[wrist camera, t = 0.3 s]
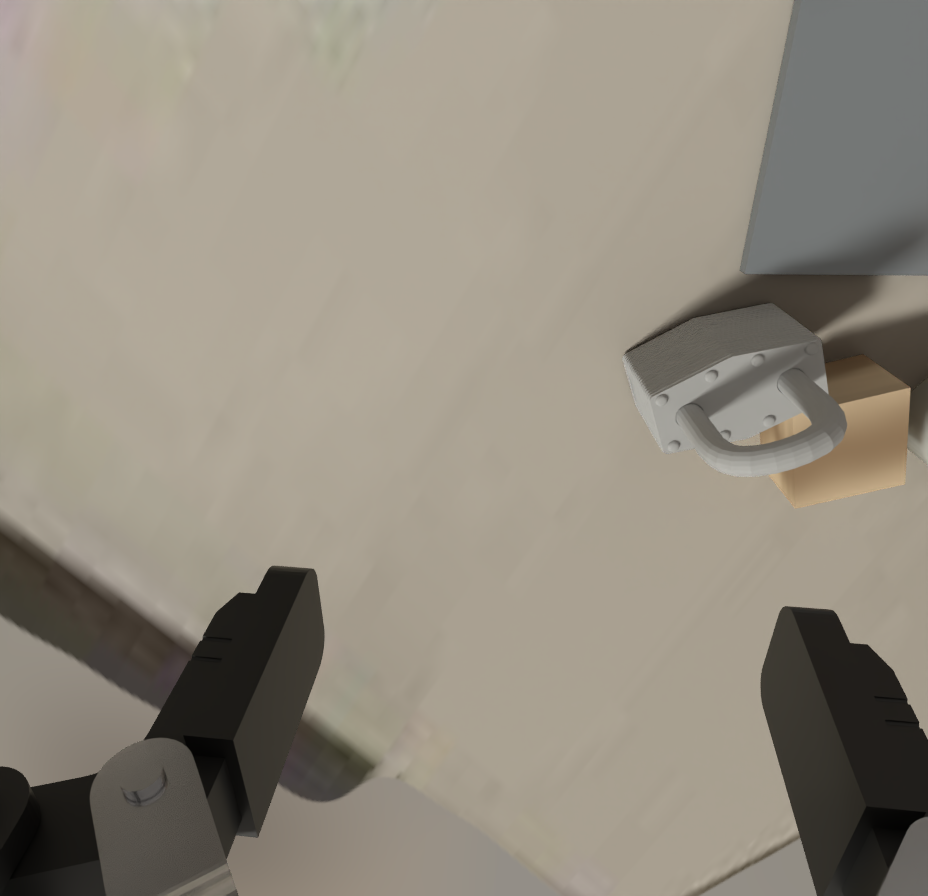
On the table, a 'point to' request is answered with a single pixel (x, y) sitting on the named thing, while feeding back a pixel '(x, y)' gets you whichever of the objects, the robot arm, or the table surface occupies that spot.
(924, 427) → the white rounded capsule
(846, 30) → the mat
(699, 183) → the table surface
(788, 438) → the padlock
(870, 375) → the oak block
